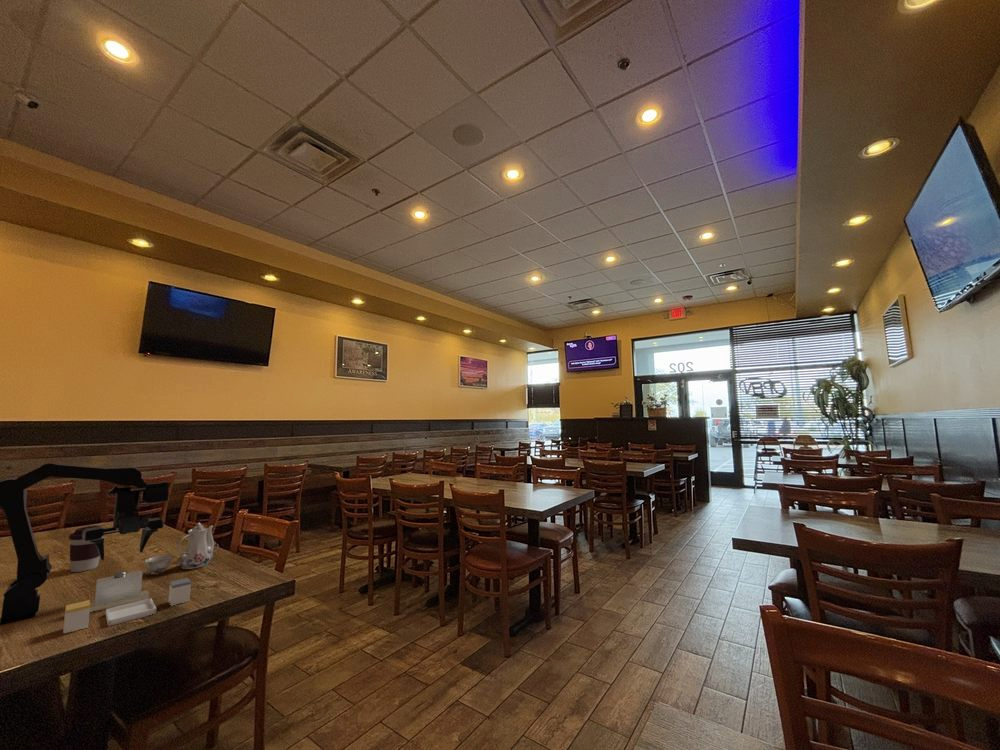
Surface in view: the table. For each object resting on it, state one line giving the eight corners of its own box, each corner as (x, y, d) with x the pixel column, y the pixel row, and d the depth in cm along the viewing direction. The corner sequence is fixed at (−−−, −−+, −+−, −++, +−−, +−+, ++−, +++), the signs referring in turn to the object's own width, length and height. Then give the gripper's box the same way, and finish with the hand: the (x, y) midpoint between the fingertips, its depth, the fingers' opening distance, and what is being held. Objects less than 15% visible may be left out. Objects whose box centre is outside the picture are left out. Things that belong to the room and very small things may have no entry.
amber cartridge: (63, 635, 105) (65, 610, 106) (63, 629, 108) (65, 605, 109) (87, 628, 109) (90, 604, 109) (87, 622, 112) (89, 599, 112)
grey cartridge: (170, 606, 121) (172, 585, 122) (168, 602, 124) (170, 581, 125) (189, 601, 125) (191, 581, 125) (186, 597, 128) (188, 577, 128)
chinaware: (200, 557, 171) (200, 516, 173) (237, 554, 169) (236, 513, 171) (134, 583, 143) (134, 534, 145) (177, 580, 141) (176, 531, 143)
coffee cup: (56, 574, 147) (61, 531, 149) (83, 564, 157) (88, 524, 159) (84, 573, 147) (89, 531, 149) (110, 564, 157) (114, 524, 159)
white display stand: (85, 613, 117) (88, 581, 118) (84, 609, 120) (87, 577, 121) (148, 598, 127) (151, 568, 128) (146, 594, 130) (149, 565, 131)
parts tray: (108, 626, 109) (108, 620, 110) (105, 614, 116) (106, 609, 116) (156, 613, 117) (156, 608, 117) (151, 603, 124) (151, 598, 124)
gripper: (91, 515, 120) (85, 570, 118) (170, 504, 135) (166, 553, 133) (84, 510, 127) (79, 562, 125) (160, 500, 141) (156, 547, 140)
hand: (122, 556), depth 130 cm, fingers open, 9 cm apart
